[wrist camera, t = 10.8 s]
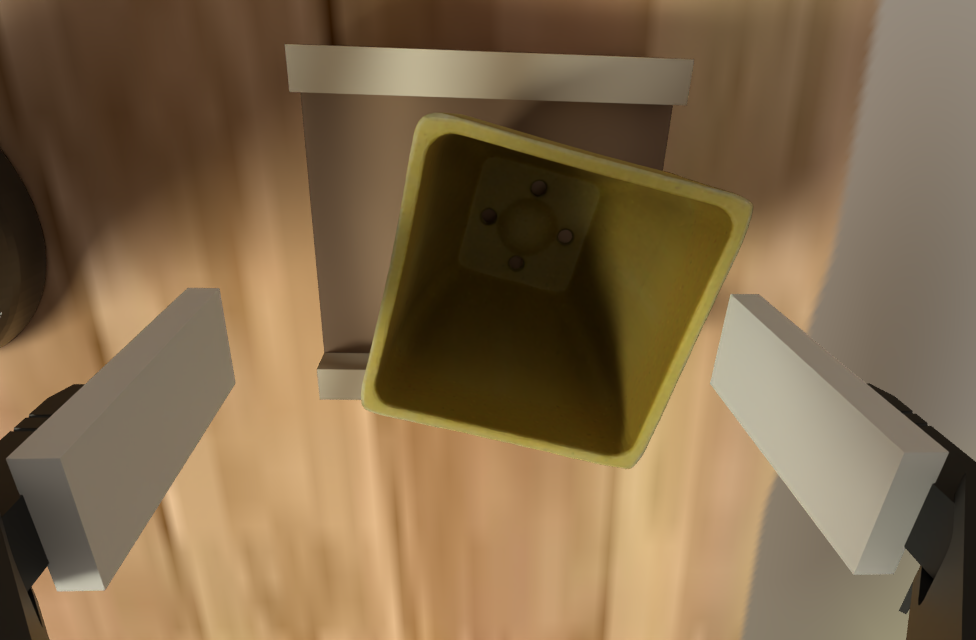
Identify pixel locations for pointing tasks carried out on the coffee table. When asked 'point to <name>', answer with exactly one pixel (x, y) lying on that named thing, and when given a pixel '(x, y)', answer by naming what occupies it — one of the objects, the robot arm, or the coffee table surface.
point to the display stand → (388, 139)
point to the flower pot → (544, 291)
